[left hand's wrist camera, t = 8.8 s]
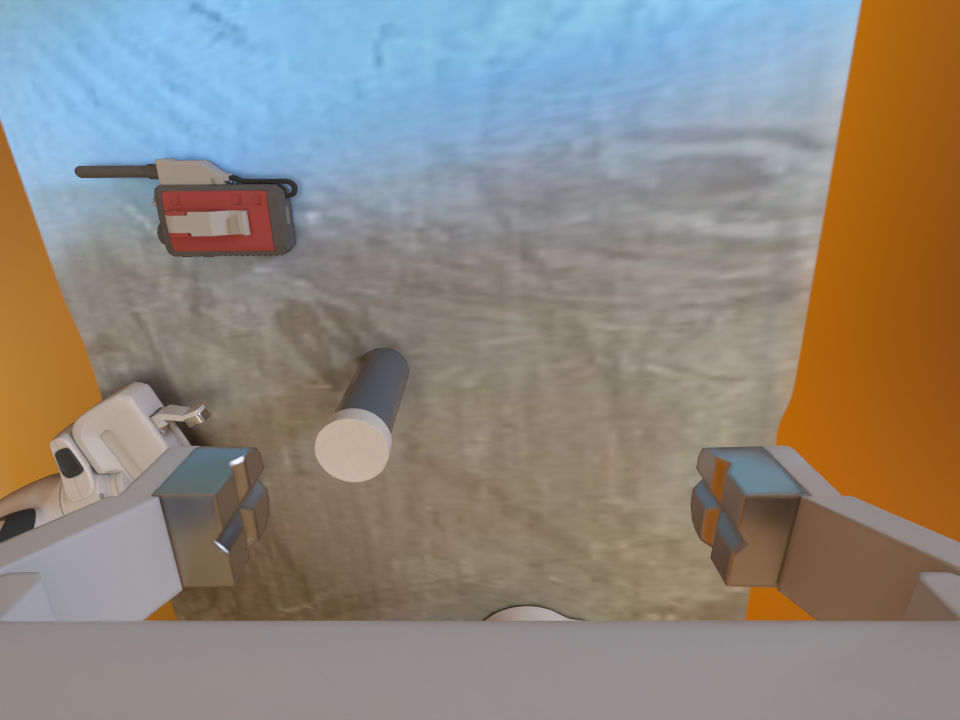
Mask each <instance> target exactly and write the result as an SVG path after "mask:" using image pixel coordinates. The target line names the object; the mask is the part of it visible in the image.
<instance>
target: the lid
mask: <svg viewBox="0 0 960 720" xmlns="http://www.w3.org/2000/svg"><path fill="white" fill-rule="evenodd" d="M391 445H392V439H391V434H390V431H389V429H388V427H387V426H386V424H385V423H384V422H383V421H382V420H381V419H380V418H379V417H378V416H376V415H375V414H373V413H371V412H369V411H366V410H363V409H356V408H350V409H344V410H341V411H338V412H336V413H334V414H333V415H331V416H330V417H329V418H328V419H327V420H326V421H325V423H324V425H323V426H322V428H321V430H320V432H319V434H318V436H317V438H316V441H315V454H316V457H317V460H318V462H319V463H320V465H321V466H322V468H323V469H324V470H325V471H326V472H328V473H329V474H330V475H332V476H334V477H335V478H338V479H340V480H343V481H348V482H361V481H366V480H369V479H371V478H373V477H375V476H376V475H378V474H379V473H380V472H381V471H382V470H383V469H384V467H385V465H386V463H387V460H388V457H389V453H390V450H391Z"/></svg>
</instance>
